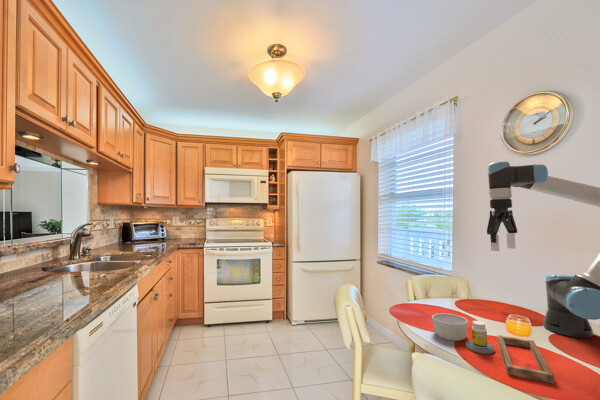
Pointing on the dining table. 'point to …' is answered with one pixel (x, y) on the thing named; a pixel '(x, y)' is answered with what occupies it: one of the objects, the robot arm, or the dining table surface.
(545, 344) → the dining table surface
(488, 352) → the coaster
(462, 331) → the ramekin
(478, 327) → the supplement bottle
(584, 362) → the dining table surface
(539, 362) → the wooden frame
